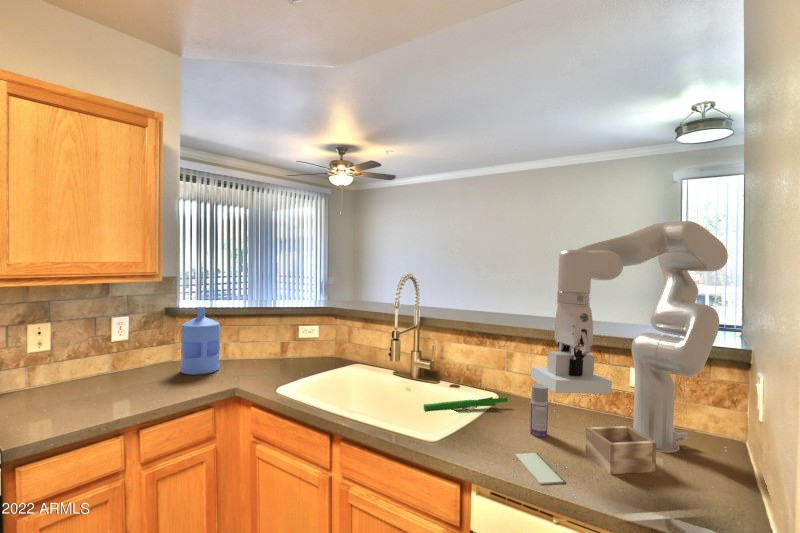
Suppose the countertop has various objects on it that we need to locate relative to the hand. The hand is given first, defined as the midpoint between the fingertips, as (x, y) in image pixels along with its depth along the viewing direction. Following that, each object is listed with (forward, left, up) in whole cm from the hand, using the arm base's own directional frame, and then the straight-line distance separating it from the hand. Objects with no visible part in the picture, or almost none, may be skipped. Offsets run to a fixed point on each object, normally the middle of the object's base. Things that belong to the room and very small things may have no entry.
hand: (570, 372), depth 102 cm
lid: (0, 0, -3) cm, 3 cm away
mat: (+3, 0, -24) cm, 24 cm away
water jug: (+119, -97, -24) cm, 156 cm away
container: (-1, -17, -24) cm, 30 cm away
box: (-13, +1, -24) cm, 27 cm away
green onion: (+13, -42, -24) cm, 50 cm away
